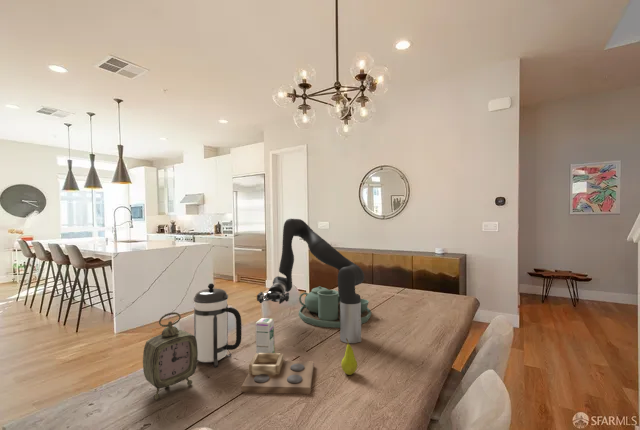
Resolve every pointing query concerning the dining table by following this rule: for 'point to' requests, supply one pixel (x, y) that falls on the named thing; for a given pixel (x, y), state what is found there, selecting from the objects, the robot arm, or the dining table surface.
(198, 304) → the coffee press
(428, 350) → the dining table surface
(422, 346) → the dining table surface
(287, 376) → the wooden board with discs
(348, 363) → the fruit
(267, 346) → the syrup box
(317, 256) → the robot arm
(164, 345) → the tabletop clock
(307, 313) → the tea set
